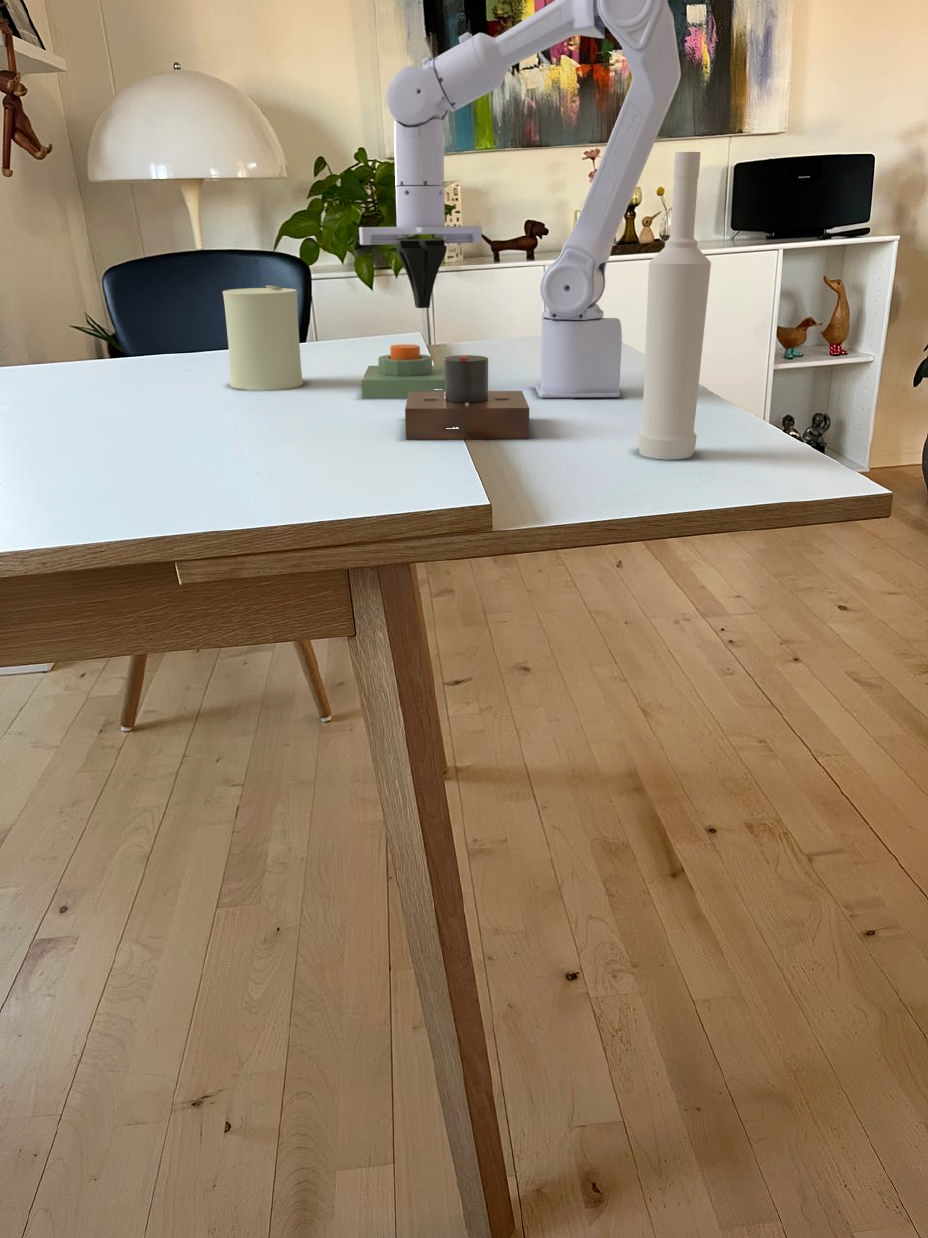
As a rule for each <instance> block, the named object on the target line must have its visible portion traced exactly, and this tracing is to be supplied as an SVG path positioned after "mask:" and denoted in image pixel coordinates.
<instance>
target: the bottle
mask: <svg viewBox="0 0 928 1238" xmlns="http://www.w3.org/2000/svg"><path fill="white" fill-rule="evenodd" d="M701 153H702V152H701V151H677V152H674V163H673V186H672V187H673V188H672V201H671V202H672V203H671V214H670V229H669V230H670V231H669V238H668V239H667V240H666V241H665V242H664V247H663V248H662V249H661V250H660V251H659V252H658V253H657V254H656V255H655V256H654V257H653V258H652V259H651V260H650V261H649V262H648V278H647V280H648V281H647V302H646V305H647V306H646V324H645V347H644V348H645V352H644V370H643V371H644V372H643V373H644V375H643V396H642V398H643V399H642V417H641V418H642V419H641V421H642V422H641V430H640V431H639V433H638V436H637V437H638V439H637V441H638V442H637V444H638V451H639V454H640V456H643V457H645V458H649V459H655V460H666V461H670V460H671V461H672V460H673V461H675V460H676V461H677V460H685V459H688V458H691V457H692V456H693V455H694V453H695V449H696V443H697V437H698V435H697V434H696V432H695V423H696V412H697V403H698V394H699V385H700V374H701V365H702V355H703V345H704V336H705V326H706V317H707V316H706V315H707V307H708V298H709V297H708V295H709V287H710V276H711V268H712V267H711V265H712V262H711V260H709V258H707V256H706V255H705V254H704V253H703V252H702V250H700V248H699V247H698V241H697V240H696V239H695V225H696V224H695V222H696V212H697V211H696V210H697V196H698V183H699V177H700V165H701Z"/></svg>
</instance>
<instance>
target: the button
mask: <svg viewBox="0 0 928 1238" xmlns="http://www.w3.org/2000/svg"><path fill="white" fill-rule="evenodd" d="M389 349H390V351H389V352H390V354H389V355H391V359H396V360H412V359H420V354H421V347H420V345H418V344H406V343H403V344H392V345H390V346H389Z"/></svg>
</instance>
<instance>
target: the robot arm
mask: <svg viewBox="0 0 928 1238" xmlns="http://www.w3.org/2000/svg"><path fill="white" fill-rule="evenodd" d="M605 28H607V29H608V31H609V32H610V34H611V35H612V36H613V37H614V38H615V39H616V41H617V42H618V43H619V45H620V47H621V48H622V50H621V51H622V53H623V56H624V58H625V61H626V63H627V66H628V69H629V71H630V74H631V76H632V80H631V83H630V85H629V89H628V91H627V93H626V96H625V98H624V101H623V103H622V106H621V108H620V111H619V114H618V116H617V119H616V121H615V124H614V126H613V128H612V131H611V134H610V136H609V139H608V141H607V143H606V146H605V148H604V151H603V153H602V156H601V159H600V161H599V164H598V166H597V169H596V171H595V174H594V176H593V179H592V182H591V184H590V187H589V189H588V191H587V193H586V196H585V199H584V202H583V204H582V207H581V210H580V211H579V215H578V217H577V220H576V222H575V225H574V226H573V228H572V229H571V232H570V233H569V235H568V237H567V239H566V240H565V242H564V244H563V246H562V249H561V252H560V254H559V255H558V257H557V258H556V259H555V261H553V262H552V263H551V264H550V265H549V266H547V268H546V270H545V271H544V272H543V274H542V277H541V280H540V286H539V291H540V292H539V293H540V296H541V300H542V302H543V304H544V305H545V307H546V308H547V309H546V311H542V312H541V317H542V318H541V344H540V345H541V347H540V348H541V349H540V352H541V353H540V382H539V383H534V389H535V390H536V392H537V394H538V396H539V398H543V399H546V398H548V399H549V398H553V399H554V398H620V397H621V393H620V381H621V364H622V363H621V362H622V346H623V345H622V344H623V336H622V335H623V333H622V323H621V320H620V319H619V318H617V317H604V311H603V309H602V308H600V306H599V304H598V302H599V301H600V300H601V298H602V296H603V294H604V292H605V288H606V267H607V264H608V262H609V259H610V256H611V253H612V249H613V244H614V241H615V238H616V236H617V233H618V231H619V228H620V226H621V224H622V222H623V218H624V217H625V215H626V212H627V209H628V208H629V204H630V202H631V199H632V197H633V195H634V193H635V190H636V188H637V185H638V183H639V181H640V178H641V175H642V173H643V171H644V169H645V166H646V164H647V161H648V159H649V156H650V154H651V152H652V149H653V148H654V145H655V142H656V139H657V137H658V135H659V132H660V130H661V127H662V126H663V123H664V120H665V118H666V117H667V113H668V111H669V108H670V106H671V104H672V101H673V99H674V96H675V93H676V91H677V89H678V87H679V84H680V82H681V81H680V80H681V76H682V72H681V63H680V57H679V49H678V42H677V35H676V28H675V19H674V14H673V11H672V9H671V8H670V5H669V1H668V0H554V1H552V2H550V3H549V4H547V5H546V6H544V7H542V8H541V9H539V10H538V11H536V12H534V13H533V14H531V15H530V16H528V17H527V18H525V19H523V20H522V21H520V22H518V23H517V24H515V25H513V26H512V27H511V28H509V29H508V30H506V31H504V32H503V33H501V34H499V35H498V36H496V37H493V36H490V35H488V34H486V33H484V32H478V33H476V34H474V35H473V34H472V33H470V32H469V31H467V32H465V33H463V34H461V35H460V36H458V41H459V44H457V45H455V46H453V47H452V48H450V49H447V50H446V51H444V52H443V53H441V54H439V55H438V56H436V57H434V58H432V57H431V56H427V57H425V58H423V59H422V60H421V64H422V68H421V67H419V66H414V65H407V66H403V67H402V68H401V69H400V70H399V72H397V73H396V74H395V75H394V76H393V77H392V78H391V80H390V82H389V83H388V85H387V89H386V104H387V108H388V110H389V112H390V114H391V115H392V117H393V118H394V121H393V123H394V124H393V125H394V128H393V130H394V145H393V146H394V176H395V177H394V178H395V180H394V181H395V211H396V212H395V213H396V215H395V216H396V226H362V227H361V226H360V227H358V233H359V245H361V246H372V245H396V246H395V248H396V249H395V250H396V252H397V255H398V257H399V259H400V261H401V263H402V265H403V267H404V270H405V273H406V276H407V278H408V280H409V284H410V287H411V292H412V296H413V300H414V301H413V302H414V307H415V308H417V309H430V308H431V300H432V294H433V290H434V286H435V281H436V279H437V275H438V273H439V270H440V268H441V265H442V264H443V263H442V262H443V261H444V259H445V257H446V254H447V251H448V250H447V247H448V246H447V245H445V244H482V242H483V241H482V240H483V239H482V238H483V237H482V233H483V232H482V228H483V227H482V226H481V225H450V226H449V225H448V226H447V225H446V222H445V221H446V218H445V217H446V216H445V215H446V214H445V213H446V211H445V210H446V209H445V207H446V206H445V145H444V121H445V120H446V119H447V116H448V115H449V112H452V113H453V112H456V111H457V110H460V109H461V108H463V107H465V106H467V105H468V104H470V103H472V102H474V101H476V100H478V99H480V98H482V97H483V96H486V95H488V94H489V93H491V92H492V91H494V90H496V89H498V88H501V86H502V85H503V84H504V81H505V78H506V75H507V74H508V70H509V69H510V68H511V67H512V66H515V65H517V64H518V63H522V62H523V61H526V60H527V59H529V58H531V57H534V56H535V55H537V54H539V53H542V52H543V51H545V50H547V49H549V48H552V47H553V46H556V45H557V44H559V43H561V42H563V41H566V40H567V39H569V38H571V37H574V36H582V37H589V38H596V39H605V37H606V35H605ZM409 235H412V236H413V235H414V236H415V235H417V236H419V235H421V236H422V235H423V236H425V235H426V236H427V235H434V238H424V239H423V238H421V239H420V238H418V239H417V238H416V239H414V238H413V239H412V238H411V239H408V236H409Z"/></svg>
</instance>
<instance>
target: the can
mask: <svg viewBox="0 0 928 1238" xmlns="http://www.w3.org/2000/svg"><path fill="white" fill-rule="evenodd" d="M222 296H223V303H224V304H223V305H224V313H225V323H226V324H225V325H226V333H227V345H228V346H227V347H228V356H229V357H228V358H229V369H230V372H229V373H230V384H229V385H230V387H231V388H233V389H237V390H242V391H279V390H287V389H293V388H298V387H301V386H303V384H304V380H303V372H302V361H301V346H300V345H301V344H300V332H299V331H300V329H299V312H298V290H297V289H296V288H287V287H286V288H283V287H280V286H276V285H265V287H250V288H248V287H247V288H246V287H245V288H233V289H225V290H223V291H222Z"/></svg>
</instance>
